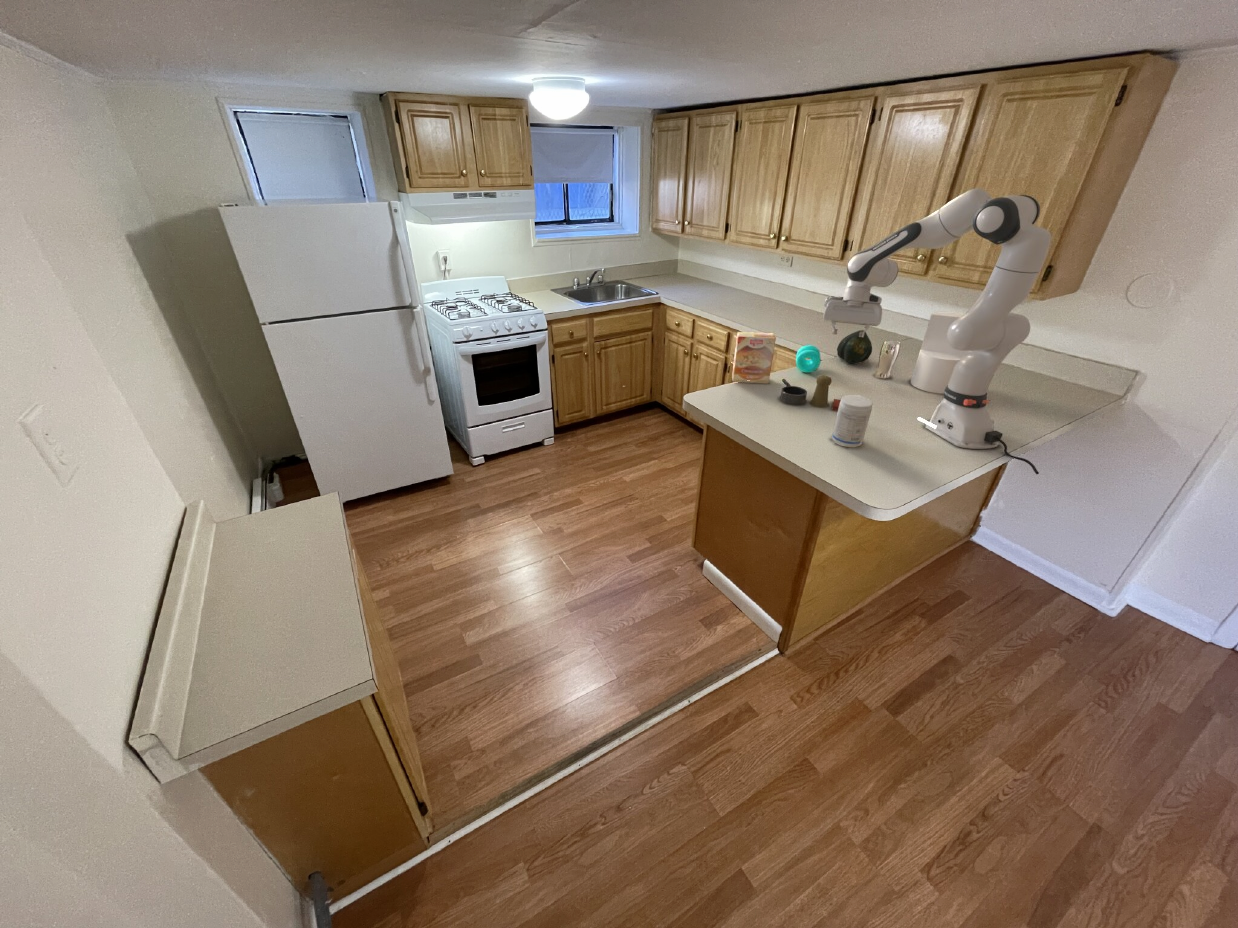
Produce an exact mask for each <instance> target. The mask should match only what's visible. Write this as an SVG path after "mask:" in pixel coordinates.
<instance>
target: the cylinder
mask: <svg viewBox="0 0 1238 928" xmlns="http://www.w3.org/2000/svg"><path fill="white" fill-rule="evenodd" d="M965 313H966V312H965ZM965 313H964V312H959V311H958V312H957V311H934V312H932V313H931V314H930V318H929V320H928V324H927V327H926V330H925V334H924V337H923V340H922V344H921V346H920V350H919V353H918V356H917V358H916V361H915V362H916V363H915V365H914V369H913V372H912V375H911V378H910V385H912V387H915V388H916V389H919V390H921V391H924V392H928V393H932V394H933V393H934V394H942V395H943V393H944V390H945V388H946V386H947V385H948V384H949V381H950V378H951V375H952V373H953V370H954V367H955V365H956V364H957V362H958V361H960V360H961V359H963V358H964V357H965V356H966V355H967V354H968V353H969V352H970V351H962V350H957V349H954V348H952V347H951V346H950V345H949V343H948V340H947V332H948V329H949V327H950V325H951V324H952V323H953V322H954V321H956V320H957V319H959V318H960V317H962V316H963V315H964V314H965Z"/></svg>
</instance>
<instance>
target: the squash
mask: <svg viewBox="0 0 1238 928" xmlns="http://www.w3.org/2000/svg"><path fill="white" fill-rule="evenodd" d="M864 330H865V329H861V330H856V331H853V332H852V333H849V334H848V335H847V336H845V337H843V338H842V339H841V340H840V342H839V343H838V345H837V347H836V353H837V354H836V355H837V357H838V358H839V359H841V360H843V361H844V362H845V363H846V364H847V365H849V364H853V365H855V364H856V365H857V364H859V363H864V362H866V361H868V360H869V358H870V356H871V355H872V352H873V343H872V341H871V340H870V337H869V336H868V333H867V332H866V331H865V333H864V337H859V335H860V332H863V331H864Z"/></svg>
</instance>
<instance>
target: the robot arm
mask: <svg viewBox="0 0 1238 928" xmlns="http://www.w3.org/2000/svg"><path fill="white" fill-rule="evenodd" d="M1040 213H1041V206H1040V203H1039V201H1038V200H1037V199H1035V197H1032V196H1030V195H1026V194H1018V195H1017V194H1008V195H1003V196H998V197H995V198H992V197H991V195H990V193H989V192H988V191H986V190H985V189H983V188H980V187H979V188H978V187H977V188H976V187H974V188H971V189H969V190H967V191H965V192H963V193H961V194H959V195H958V196H956V197H954V198H953V199H952V200H950V201H948V202H947V203H945V204H944V205H943V206H941V207H940V208H939V209H937V210H935V211H934V212H932V213H930V214H929V215H927V216H925V217H924V218H922V219H920V220H917V221H914V222H911V223H908V224H907V225H905V226H903V227H901V228H900V229H897V230H896V231H894V232H892V233H891V234H890V235H889V234H888V236H886V237H884V238H882V239H881V240H880V241H878V242H876V243H875V244H873V245H872V246H870V247H868V248H865V249H861V250H859V251H857V252H855V254H853V255H852V256H851V257H850V259H849V260H848V262H847V265H846V272H847V278H846V279H847V282H846V285H845V288H844V291H843V295H842V296H834V295H831V296H829V297H827V298H826V299H825V300H824V311H823V316H822V321H824V322H829V323H831V324H830V326H831V328H832V335H837V334H838V331H839V330H838V328H836V326H835V325H836V323H840V324H848V325H849V324H850V325H859V326H863V328H864V329H863V330H864V331H863V332H860V335H859V337H864V333H865V332H866V331H868V329H869V328H870V327H878V326H880V325H881V322H882V319H883V318H882V317H883V307H882V305H881V304H882V302H883V301H882V300H883V299H882V297H881V296H878V295H876V294H873V293H872V292H871V289H872V288H873V287H876V288H886V287H889V286H890V285H892V284H893V283H894V282H895V280H896V279H897V277H898V274H899V265H898V263H897V262H896V261H895V260H893V259H891V258H890V257H892V256H894V255H896V254H897V253H899V252H901V251H904V250H909V249H929V250H938V249H942V248H944V247H946V246H948V245H951V244H953V243H954V242H956V241H957V240H959V239H960V238H962V237H963V236H964V235H966V234H967V233H969V232H971V231H972V230H974V232H975V234H977V235H978V236H979V237H981V238H983V239H985V240H987V241H988V242H991V243H992V244H994V245H996V246H998V245H1001V250H1000V253H999V256H998V258H997V260H996V262H995V265H994V267H993V269H992V272H991V274H990V275H989V279H988V281H987V282H986V284H985V286H984V289H983V290H982V292H981V294H980V295H979V296H978V298H977V299H976V301H974V303H973V304H972V305H971V306H970V308H969V309H968V310H967V311H966V312H965V314H964V315H963V316H962V317H960V318H959V319H957V320H956V321H954V322H953V323H952V324H951V325H950V327H949V329H948V332H947V340H948V343H949V345H950V346H951V347H952V348H954V349H957V350H962V351H970V352H969V353H968V354H967V355H966V356H965V357H964V358H963V359H961V360H960V361H958V362H957V364H956V365H955V367H954V370H953V373H952V375H951V378H950V381H949V384H948V385H947V386H946V388H945V390H944V393H943V394H942V399H941V400H940V402H939V403H938V404H937V406H936V408H935V409H934V412H933V414H932V416H931V419H930V420H929V421H928V420H926V419H924V418H922V417H917V421H919V422H922V423H924V424H925V429H927V430H929V431H930V432H931V433H933V434H935V435H937V436H939V437H940V438H942V439H944V440H945V441H947V442H949V443H951V444H952V445H954V446H956V447H958V448H964V449H970V450H971V449H972V450H987V449H994V448H997V447H998V446H999V444H1002V446H1003V453H1004V454H1005V455H1006V456H1007V457H1009V458H1011V459H1015V460H1018V461H1022V462H1024V463H1026V464H1028V465H1029V466H1030V467H1031V468H1032V470H1033V472H1034V473H1035V475H1039V474H1040V472H1039V471H1038V469H1037V468H1036V466H1035V465H1034V464H1033V462H1032V461H1030V460H1028V459H1026V458H1023V457H1021V456H1020V457H1019V456H1015V455H1012V454H1011V453H1009V452H1008V445H1007V444H1006V442H1005V441H1003V439H1002V436H1003V435H1004V433H1003V432H1000V431H998V430H995V424H994V423H995V421H994V419H992V417H991V416H990V414H989V412H988V410H987V405H988V404H989V402H991V399H988V390H989V387H990V386H991V385H990V384H991V382H992V380H993V378H994V376H995V373H996V371H997V370H998V369H999V367H1000V365H1001V364H1002V363H1003V362H1004V360H1005V359H1006V358H1007V357H1008V355H1009V354H1010V353H1011V352H1012V351H1013V350H1014V349H1015V348H1016V347H1017V346H1018V345H1020V344H1021V343H1023V342H1024V341H1025V340H1026V339H1028V337H1029V334H1030V333H1031V323H1030V320H1029V319H1028V318H1027V316H1025V315H1023V314H1019V313H1014V312H1012V311H1013V310H1014V309H1015V308H1016V307H1017V306H1019V305H1020V304H1022V303H1024V302H1025V301H1026V299H1027V298H1028V297H1029V295H1030V293H1031V291H1032V289H1033V287H1034V285H1035V283H1036V281H1037V279H1038V277H1039V274H1040V272H1041V270H1042V268H1043V266H1044V264H1045V261H1046V258H1047V256H1048V253H1049V249H1050V245H1051V243H1052V234H1051V232H1050V231H1049V230H1048V229H1046V228H1044V227H1042V226H1039V225H1035V224H1036V222H1037V221H1038V219H1039V217H1040Z"/></svg>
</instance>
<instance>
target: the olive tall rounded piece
mask: <svg viewBox="0 0 1238 928" xmlns="http://www.w3.org/2000/svg"><path fill="white" fill-rule="evenodd" d="M831 384H832V378H831V376H829V375H826V374H821V375H819V376H817V378H816V387H815V390H814V392H813V395H812V397H811V400H810V404H811V405H812V406H814V407H816V408H817V407H818V408H825V407H827V406H828V401H829V388H830V387H829V386H830V385H831Z"/></svg>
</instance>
